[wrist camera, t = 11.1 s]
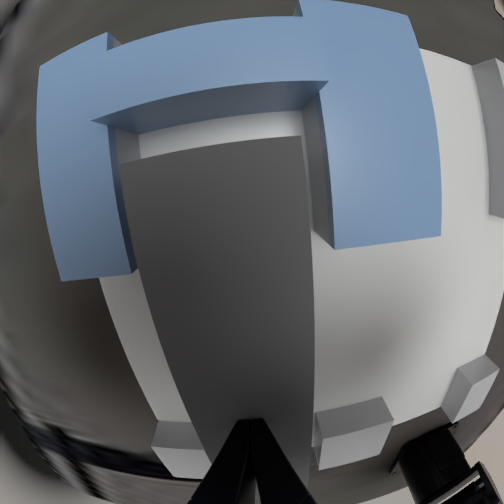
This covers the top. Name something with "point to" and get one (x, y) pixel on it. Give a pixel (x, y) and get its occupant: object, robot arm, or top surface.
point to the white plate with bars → (319, 200)
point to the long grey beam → (231, 284)
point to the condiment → (499, 6)
